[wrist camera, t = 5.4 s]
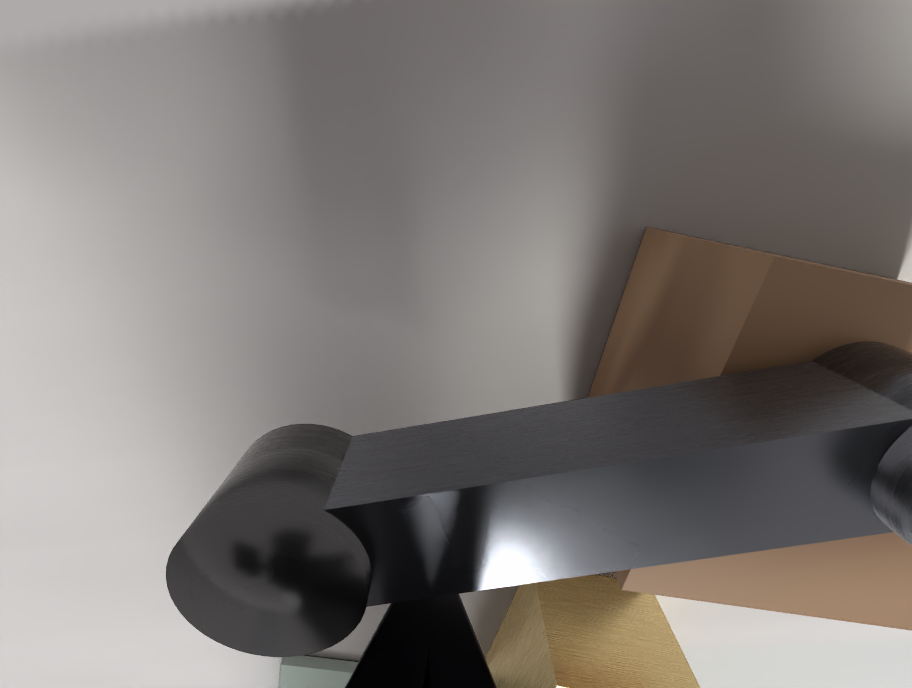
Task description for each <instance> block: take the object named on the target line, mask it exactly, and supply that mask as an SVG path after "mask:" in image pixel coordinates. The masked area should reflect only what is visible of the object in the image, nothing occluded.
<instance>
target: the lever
mask: <svg viewBox="0 0 912 688" xmlns="http://www.w3.org/2000/svg"><path fill="white" fill-rule="evenodd" d="M891 532H895V533H896V534H897V535H899V536H900V537H901V538H902V539H904V540H905V541H906V542H907V543H909V544H910V545H911V546H912V353H911V352H909V351H906V350H903V349H901V348H898V347H895V346H892V345H890V344H886V343H883V342H876V341H862V342H854V343H850V344H845V345H842V346H839V347H836V348H834V349H832V350H829V351H827V352H825V353H824V354H822V355H820V356H818V357H817V358H815V359H814V360H812V361H808V362H802V363H796V364H790V365H783V366H777V367H771V368H765V369H759V370H753V371H747V372H741V373H735V374H729V375H723V376H717V377H711V378H704V379H698V380H692V381H686V382H680V383H674V384H668V385H662V386H656V387H650V388H644V389H638V390H632V391H625V392H619V393H613V394H607V395H601V396H595V397H589V398H583V399H577V400H571V401H565V402H559V403H553V404H546V405H540V406H534V407H528V408H522V409H516V410H510V411H504V412H498V413H492V414H486V415H480V416H474V417H467V418H461V419H455V420H449V421H443V422H437V423H431V424H425V425H419V426H413V427H407V428H401V429H395V430H388V431H382V432H376V433H370V434H364V435H358V436H351V435H349V434H347V433H345V432H343V431H340V430H337V429H334V428H331V427H327V426H323V425H315V424H296V425H289V426H285V427H281V428H278V429H275V430H272V431H271V432H269V433H267V434H265V435H263V436H262V437H260V438H259V439H258V440H256V441H255V442H254V443H253V444H252V445H251V447H250V448H249V449H248V450H247V452H246V453H245V454H244V456H243V457H242V458H241V460H240V461H239V462H238V464H237V465H236V466H235V467H234V469H233V470H232V471H231V473H230V474H229V475H228V477H227V478H226V479H225V481H224V482H223V483H222V485H221V486H220V487H219V488H218V490H217V491H216V492H215V494H214V495H213V496H212V498H211V499H210V500H209V502H208V503H207V504H206V506H205V507H204V508H203V509H202V511H201V512H200V513H199V515H198V516H197V517H196V519H195V520H194V521H193V523H192V524H191V525H190V526H189V528H188V529H187V530H186V532H185V533H184V534H183V536H182V537H181V538H180V540H179V541H178V542H177V544H176V545H175V546H174V548H173V550H172V552H171V554H170V556H169V559H168V563H167V566H166V581H167V587H168V590H169V593H170V596H171V598H172V600H173V602H174V604H175V606H176V607H177V608H178V610H179V611H180V613H181V614H182V615H183V616H184V617H185V618H186V620H187V621H188V622H189V623H191V624H192V625H193V626H194V627H195V628H196V629H197V630H199V631H200V632H202V633H203V634H204V635H206V636H208V637H209V638H211V639H213V640H215V641H216V642H218V643H221V644H223V645H225V646H227V647H230V648H233V649H236V650H238V651H242V652H246V653H250V654H255V655H261V656H270V657H293V656H302V655H307V654H312V653H315V652H319V651H322V650H324V649H327V648H329V647H331V646H333V645H335V644H337V643H338V642H340V641H342V640H343V639H344V638H346V637H347V636H348V635H349V634H350V633H351V632H352V631H353V630H354V629H355V628H356V627H357V625H358V624H359V623H360V621H361V619H362V617H363V615H364V613H365V609H366V607H367V606H374V605H381V604H388V603H395V602H402V601H409V600H416V599H424V598H431V597H438V596H445V595H452V594H459V593H466V592H473V591H480V590H487V589H494V588H501V587H509V586H516V585H523V584H530V583H537V582H544V581H551V580H558V579H565V578H572V577H579V576H586V575H594V574H601V573H608V572H615V571H622V570H629V569H636V568H643V567H650V566H657V565H664V564H672V563H679V562H686V561H693V560H700V559H707V558H714V557H721V556H728V555H735V554H742V553H749V552H757V551H764V550H771V549H778V548H785V547H792V546H799V545H806V544H813V543H820V542H827V541H834V540H842V539H849V538H856V537H863V536H870V535H877V534H884V533H891Z"/></svg>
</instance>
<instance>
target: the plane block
mask: <svg viewBox="0 0 912 688" xmlns="http://www.w3.org/2000/svg"><path fill="white" fill-rule="evenodd" d="M862 341H876V342H883V343H886V344H890V345H892V346H895V347H898V348H901V349H903V350H906V351H909V352H911V353H912V283H910V282H905V281H901V280H896V279H891V278H886V277H882V276H877V275H872V274H867V273H863V272H858V271H853V270H848V269H844V268H839V267H834V266H829V265H825V264H820V263H815V262H810V261H806V260H801V259H796V258H791V257H786V256H782V255H777V254H772V253H767V252H763V251H758V250H753V249H748V248H744V247H739V246H734V245H729V244H725V243H720V242H715V241H710V240H706V239H701V238H696V237H691V236H687V235H682V234H677V233H672V232H668V231H663V230H658V229H653V228H648V227H646V230H645V232H644V235H643V238H642V241H641V244H640V247H639V250H638V253H637V256H636V258H635V261H634V264H633V267H632V270H631V273H630V276H629V279H628V282H627V285H626V287H625V290H624V293H623V296H622V299H621V302H620V305H619V308H618V311H617V314H616V316H615V319H614V322H613V325H612V328H611V331H610V334H609V337H608V340H607V342H606V345H605V348H604V351H603V354H602V357H601V360H600V363H599V366H598V369H597V371H596V374H595V377H594V380H593V383H592V386H591V389H590V392H589V395H588V398H589V397H595V396H601V395H607V394H613V393H619V392H625V391H632V390H638V389H644V388H650V387H656V386H662V385H668V384H674V383H680V382H686V381H692V380H698V379H704V378H711V377H717V376H723V375H729V374H735V373H741V372H747V371H753V370H759V369H765V368H771V367H777V366H783V365H790V364H796V363H802V362H808V361H812V360H814V359H815V358H817V357H818V356H820V355H822V354H824V353H825V352H827V351H829V350H832V349H834V348H836V347H839V346H842V345H845V344H850V343H854V342H862ZM614 573H615V576H616V578H617V580H618V583H619V585H620V588H621V590H626V591H633V592H640V593H647V594H654V595H662V596H669V597H676V598H683V599H690V600H697V601H705V602H712V603H719V604H726V605H733V606H740V607H748V608H755V609H762V610H769V611H776V612H783V613H791V614H798V615H805V616H812V617H819V618H827V619H834V620H841V621H848V622H855V623H862V624H870V625H877V626H884V627H891V628H898V629H905V630H912V546H911V545H910V544H909V543H907V542H906V541H905V540H904V539H902V538H901V537H900V536H899V535H897V534H896V533H895V532H891V533H884V534H877V535H870V536H863V537H856V538H849V539H842V540H834V541H827V542H820V543H813V544H806V545H799V546H792V547H785V548H778V549H771V550H764V551H757V552H749V553H742V554H735V555H728V556H721V557H714V558H707V559H700V560H693V561H686V562H679V563H672V564H664V565H657V566H650V567H643V568H636V569H629V570H622V571H615V572H614Z"/></svg>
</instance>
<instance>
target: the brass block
mask: <svg viewBox="0 0 912 688" xmlns="http://www.w3.org/2000/svg"><path fill="white" fill-rule="evenodd" d="M485 660H486V662H487V665H488V667H489V670H490V672H491V674H492V677H493V679H494V682H495V684H496V687H497V688H700V686H699V684H698V682H697V680H696V678H695V676H694V674H693V672H692V670H691V668H690V666H689V664H688V662H687V660H686V658H685V656H684V654H683V652H682V650H681V648H680V645H679V643H678V641H677V639H676V637H675V635H674V633H673V631H672V629H671V627H670V625H669V623H668V621H667V619H666V617H665V615H664V613H663V611H662V609H661V607H660V605H659V603H658V601H657V599H656V597H655V595H654V594H647V593H640V592H633V591H626V590H621V588H620V585H619V583H618V580H617V579H615V578H610V577H605V576H600V575H596V574H594V575H586V576H579V577H572V578H565V579H558V580H551V581H544V582H537V583H530V584H523V585H519V588H518V590H517V592H516V594H515V596H514V598H513V600H512V603H511V605H510V607H509V609H508V611H507V613H506V615H505V618H504V620H503V622H502V624H501V626H500V628H499V631H498V633H497V635H496V637H495V639H494V641H493V643H492V646H491V648H490V650H489V652H488V654H487V656H486V658H485Z"/></svg>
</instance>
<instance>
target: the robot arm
mask: <svg viewBox="0 0 912 688" xmlns="http://www.w3.org/2000/svg"><path fill="white" fill-rule="evenodd" d="M345 688H497V687H496V684H495V682H494V679H493V677H492V674H491V672H490V670H489V667H488V665H487V662H486V660H485V657H484V655H483V652H482V650H481V647H480V645H479V642H478V640H477V638H476V635H475V633H474V630H473V628H472V625H471V623H470V620H469V618H468V615H467V613H466V610H465V608H464V605H463V603H462V601H461V598H460V596H459V594H452V595H445V596H438V597H431V598H424V599H416V600H409V601H402V602H395V603H390V605H389V607H388V609H387V611H386V613H385V614H384V616H383V618H382V620H381V622H380V624H379V625H378V627H377V629H376V631H375V633H374V635H373V637H372V638H371V640H370V642H369V644H368V646H367V648H366V649H365V651H364V653H363V655H362V657H361V659H360V660H359V662H358V664H357V666H356V668H355V670H354V672H353V673H352V675H351V677H350V679H349V681H348V683H347V684H346V686H345Z"/></svg>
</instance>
